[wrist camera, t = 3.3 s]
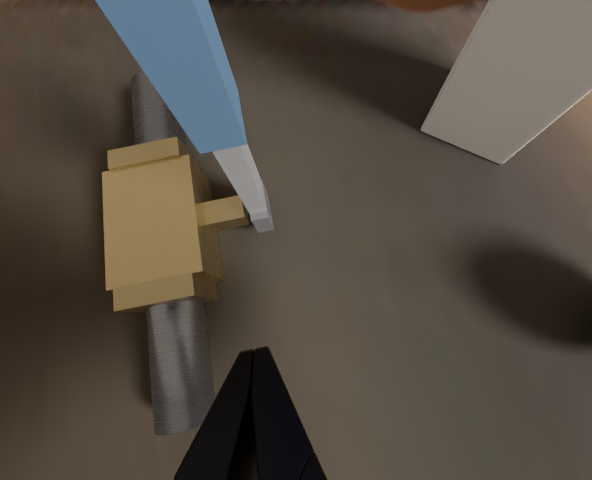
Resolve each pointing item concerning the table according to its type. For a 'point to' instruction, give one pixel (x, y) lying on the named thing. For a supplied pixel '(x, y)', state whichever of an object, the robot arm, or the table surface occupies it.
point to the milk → (514, 76)
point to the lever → (194, 84)
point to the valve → (166, 254)
